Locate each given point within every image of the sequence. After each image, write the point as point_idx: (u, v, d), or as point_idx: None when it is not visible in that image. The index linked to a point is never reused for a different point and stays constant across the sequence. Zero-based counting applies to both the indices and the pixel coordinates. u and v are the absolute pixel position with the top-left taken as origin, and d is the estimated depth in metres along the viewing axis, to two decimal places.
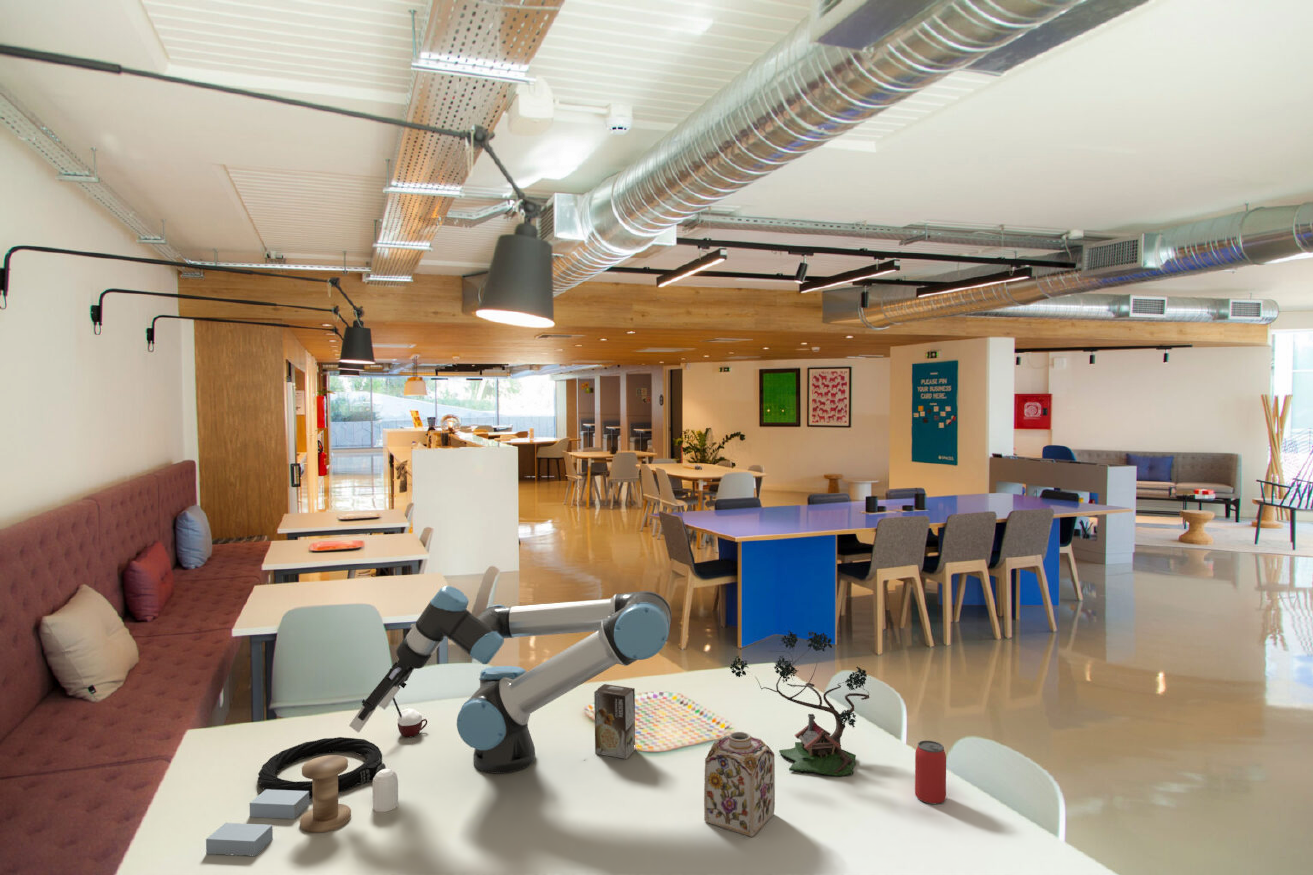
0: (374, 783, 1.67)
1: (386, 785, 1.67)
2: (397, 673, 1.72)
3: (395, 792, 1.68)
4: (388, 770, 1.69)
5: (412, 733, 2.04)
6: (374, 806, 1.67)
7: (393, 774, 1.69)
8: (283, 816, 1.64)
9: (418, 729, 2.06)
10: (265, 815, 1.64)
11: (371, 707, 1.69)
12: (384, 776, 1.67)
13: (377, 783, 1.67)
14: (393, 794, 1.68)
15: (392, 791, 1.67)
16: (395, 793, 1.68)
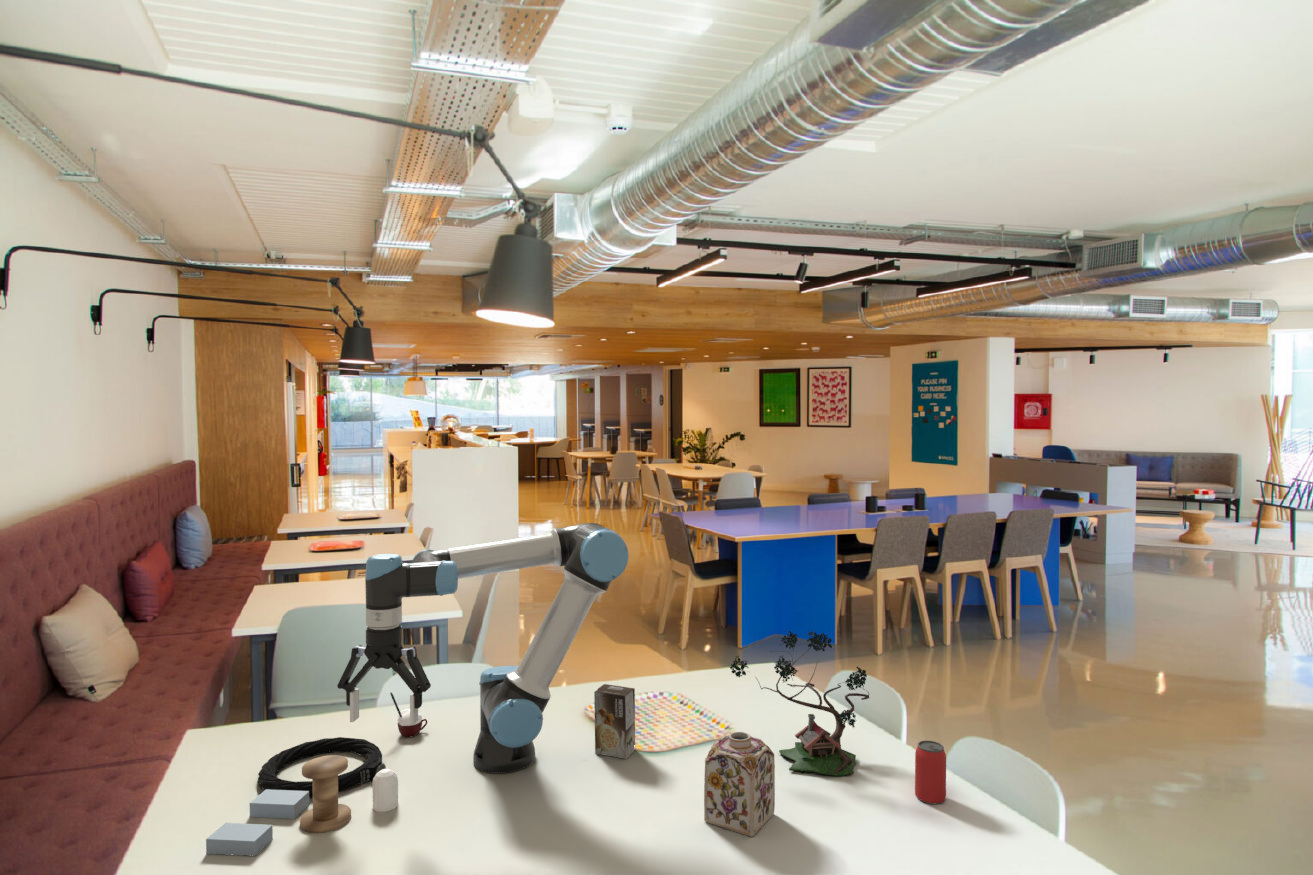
0: (374, 783, 1.67)
1: (386, 785, 1.67)
2: (414, 647, 1.68)
3: (395, 792, 1.68)
4: (388, 770, 1.69)
5: (412, 733, 2.04)
6: (374, 806, 1.67)
7: (393, 774, 1.69)
8: (283, 816, 1.64)
9: (418, 729, 2.06)
10: (265, 815, 1.64)
11: (429, 684, 1.68)
12: (384, 776, 1.67)
13: (377, 783, 1.67)
14: (393, 794, 1.68)
15: (392, 791, 1.67)
16: (395, 793, 1.68)
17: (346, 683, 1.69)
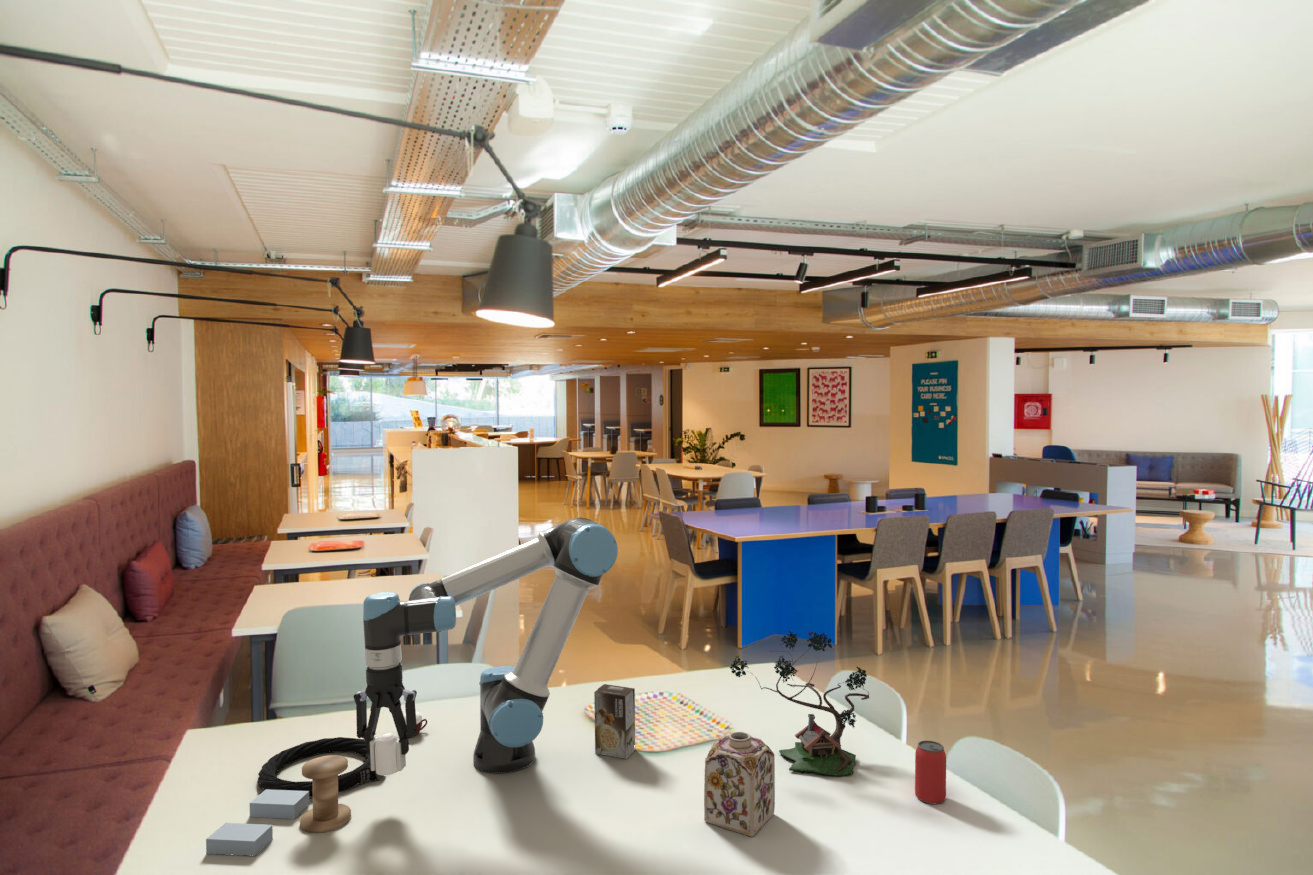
0: (376, 747, 1.67)
1: (388, 749, 1.67)
2: (415, 692, 1.69)
3: None
4: (390, 734, 1.69)
5: None
6: (377, 771, 1.67)
7: (395, 738, 1.69)
8: (283, 816, 1.64)
9: (418, 729, 2.06)
10: (265, 815, 1.64)
11: (415, 729, 1.69)
12: (386, 740, 1.67)
13: (379, 747, 1.67)
14: (395, 757, 1.68)
15: (394, 755, 1.67)
16: None
17: (366, 732, 1.69)
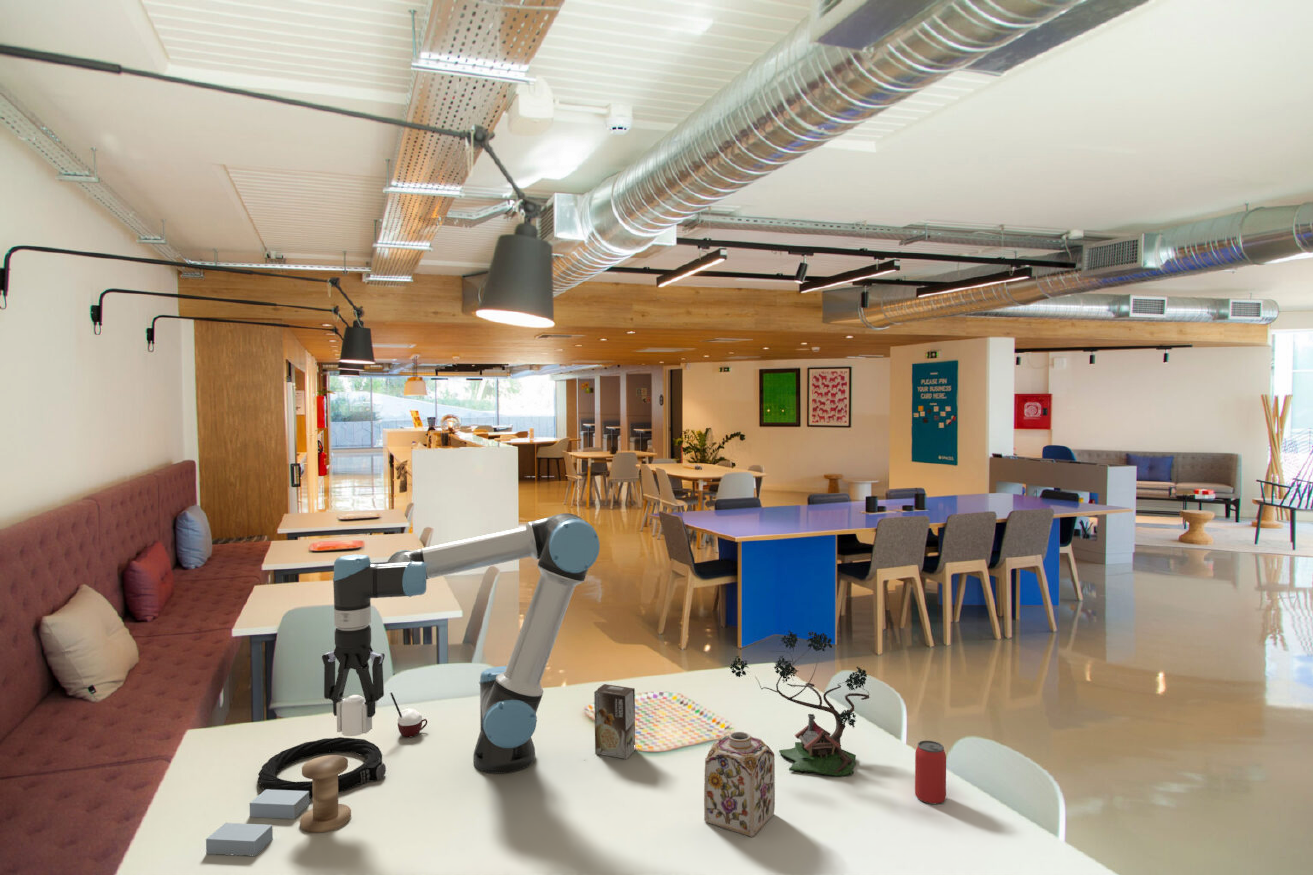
0: (342, 708, 1.67)
1: (354, 710, 1.67)
2: (383, 655, 1.68)
3: None
4: (357, 695, 1.69)
5: (412, 733, 2.04)
6: (342, 731, 1.67)
7: (362, 700, 1.69)
8: (283, 816, 1.64)
9: (418, 729, 2.06)
10: (265, 815, 1.64)
11: (382, 693, 1.69)
12: (353, 701, 1.67)
13: (345, 708, 1.67)
14: (361, 719, 1.68)
15: (360, 716, 1.67)
16: None
17: (333, 693, 1.69)
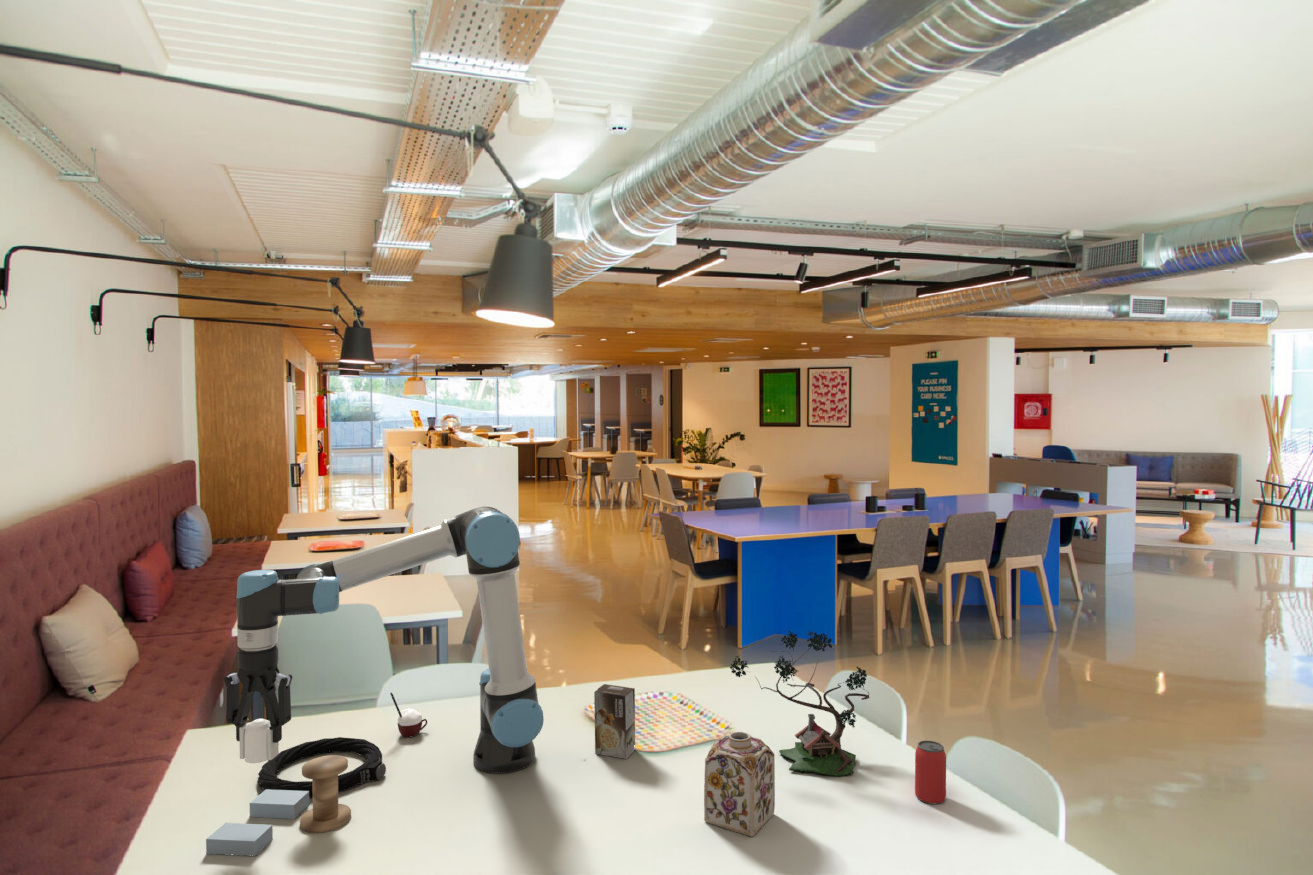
0: (246, 733, 1.57)
1: (258, 735, 1.57)
2: (290, 676, 1.59)
3: None
4: (262, 719, 1.59)
5: (412, 733, 2.04)
6: (245, 758, 1.57)
7: (267, 724, 1.59)
8: (283, 816, 1.64)
9: (418, 729, 2.06)
10: (265, 815, 1.64)
11: (289, 716, 1.60)
12: (257, 726, 1.58)
13: (248, 733, 1.57)
14: (266, 745, 1.58)
15: (264, 742, 1.58)
16: None
17: None
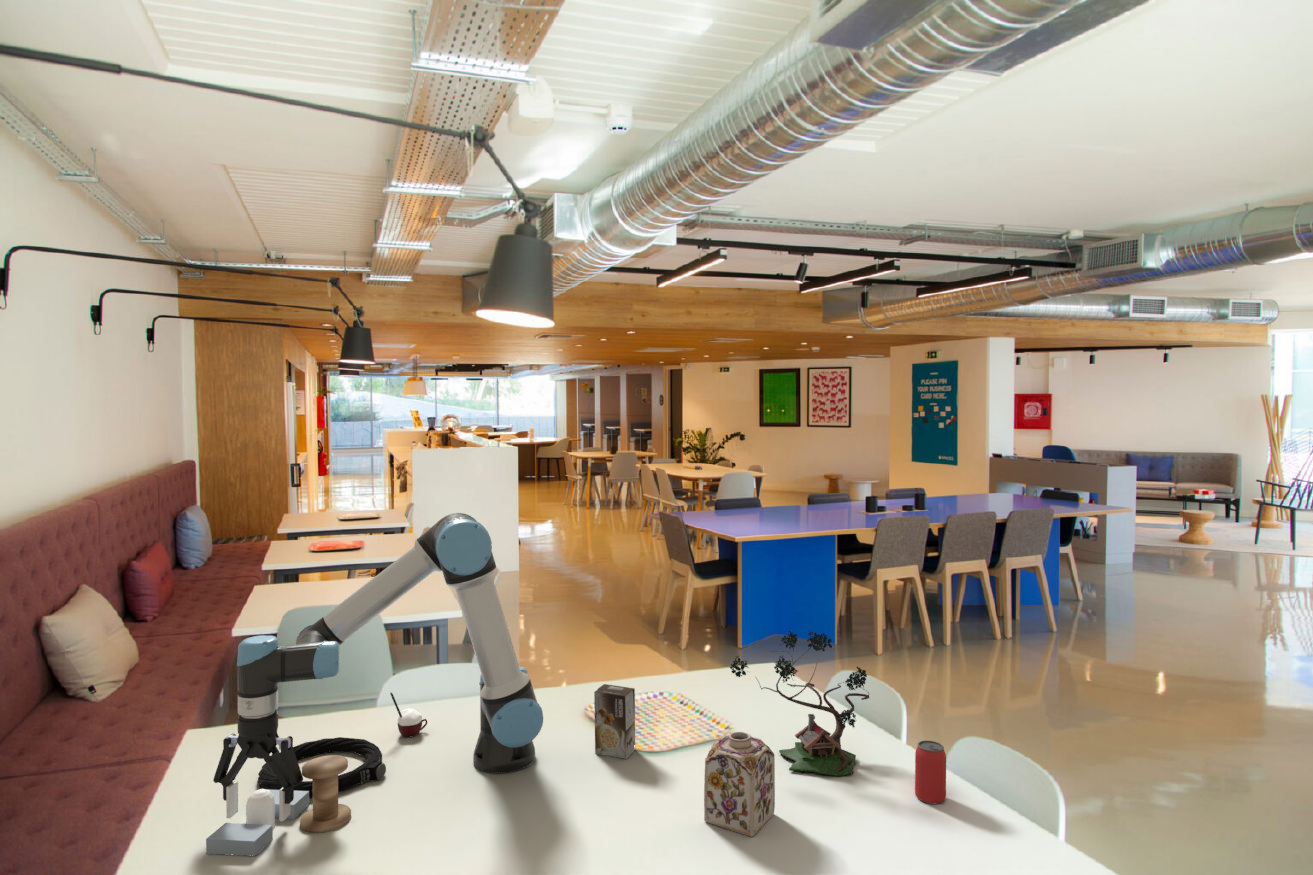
0: (247, 804, 1.58)
1: (259, 807, 1.57)
2: (290, 738, 1.59)
3: (270, 814, 1.59)
4: (263, 790, 1.60)
5: (412, 733, 2.04)
6: None
7: (268, 795, 1.59)
8: None
9: (418, 729, 2.06)
10: None
11: (301, 777, 1.60)
12: (258, 797, 1.58)
13: (250, 805, 1.57)
14: (267, 816, 1.58)
15: (266, 813, 1.58)
16: (270, 815, 1.59)
17: (223, 777, 1.60)
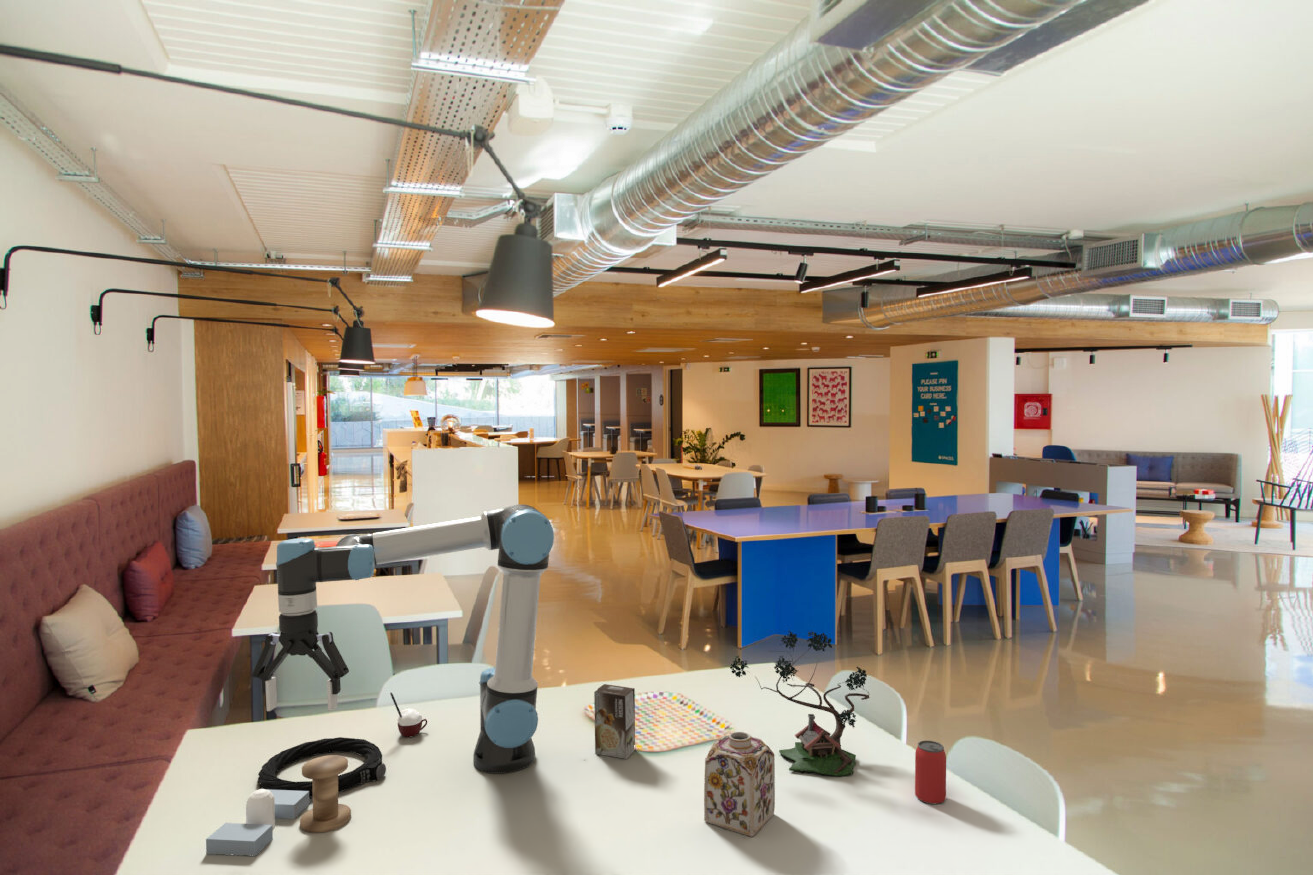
0: (247, 805, 1.58)
1: (259, 807, 1.57)
2: (330, 633, 1.65)
3: (270, 814, 1.59)
4: (263, 790, 1.60)
5: (412, 733, 2.04)
6: None
7: (268, 795, 1.59)
8: (283, 816, 1.64)
9: (418, 729, 2.06)
10: None
11: (347, 669, 1.65)
12: (258, 797, 1.58)
13: (250, 805, 1.57)
14: (267, 816, 1.58)
15: (266, 813, 1.58)
16: (270, 815, 1.59)
17: (262, 672, 1.65)
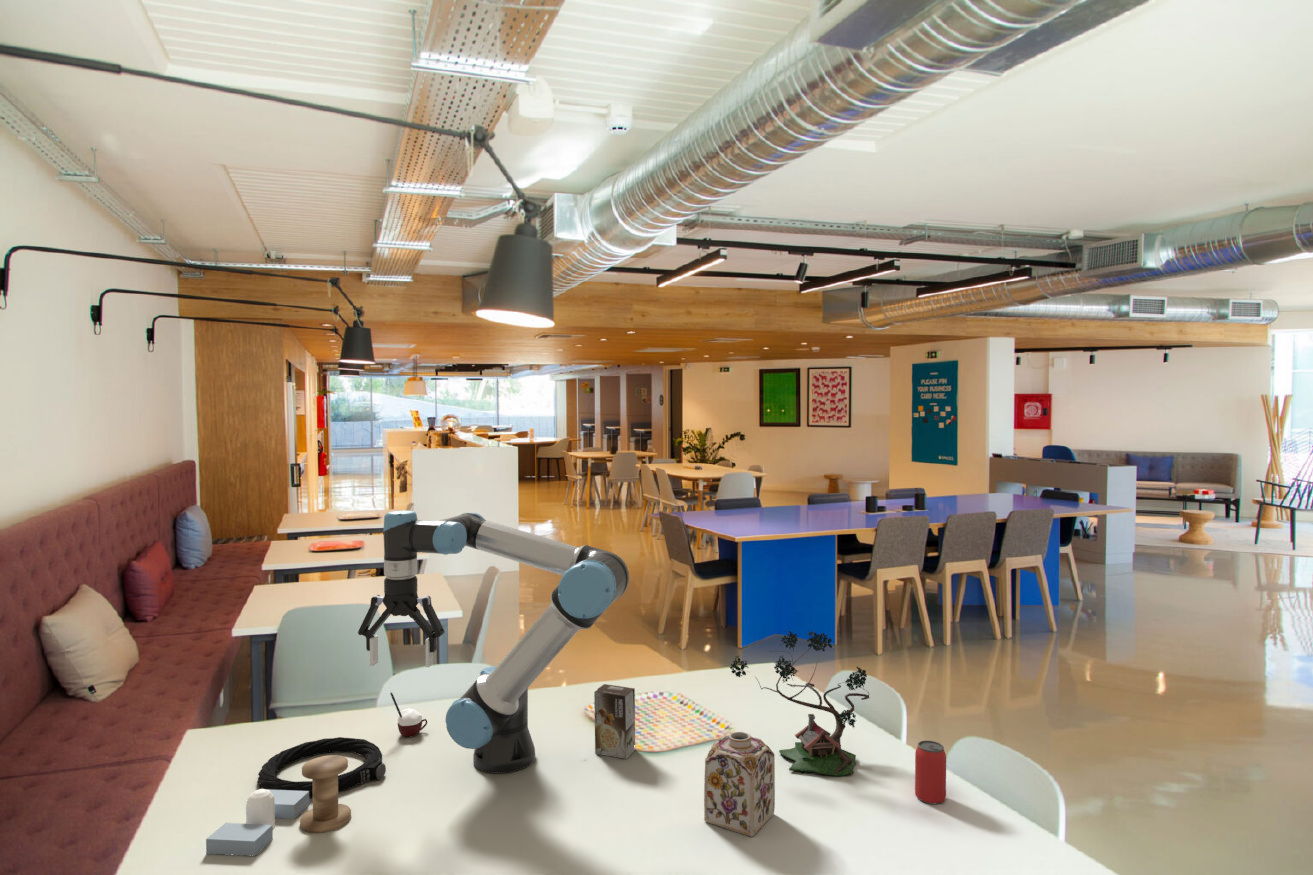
0: (247, 805, 1.58)
1: (259, 807, 1.57)
2: (428, 596, 1.82)
3: (270, 814, 1.59)
4: (263, 790, 1.60)
5: (412, 733, 2.04)
6: None
7: (268, 795, 1.59)
8: (283, 816, 1.64)
9: (418, 729, 2.06)
10: None
11: (443, 630, 1.82)
12: (258, 797, 1.58)
13: (250, 805, 1.57)
14: (267, 816, 1.58)
15: (266, 813, 1.58)
16: (270, 815, 1.59)
17: (366, 630, 1.83)
